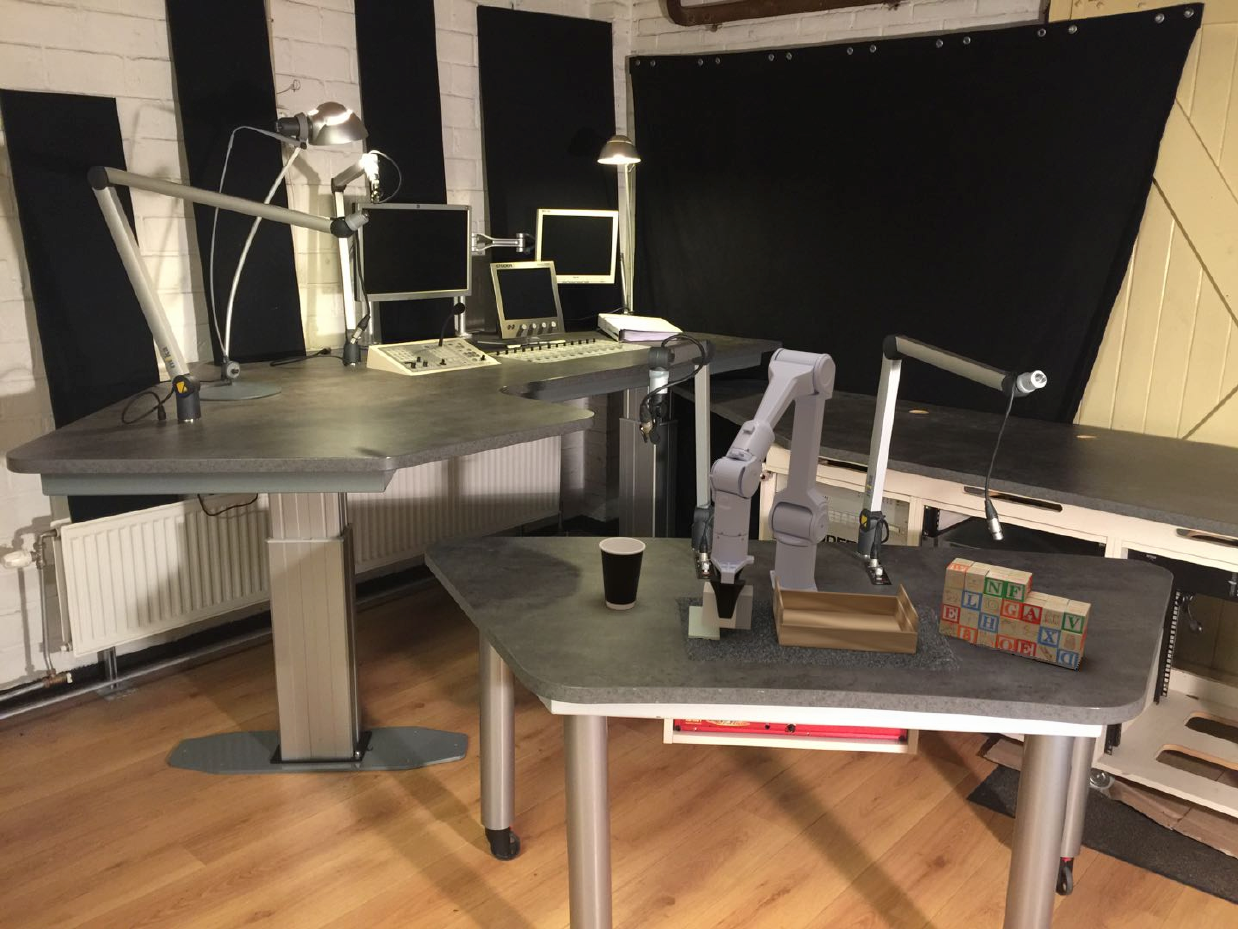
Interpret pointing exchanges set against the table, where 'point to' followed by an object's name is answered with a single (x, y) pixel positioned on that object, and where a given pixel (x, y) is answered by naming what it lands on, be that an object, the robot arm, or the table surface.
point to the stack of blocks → (1011, 613)
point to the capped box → (741, 612)
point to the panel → (700, 626)
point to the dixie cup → (621, 570)
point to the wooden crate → (845, 620)
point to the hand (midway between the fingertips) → (725, 608)
